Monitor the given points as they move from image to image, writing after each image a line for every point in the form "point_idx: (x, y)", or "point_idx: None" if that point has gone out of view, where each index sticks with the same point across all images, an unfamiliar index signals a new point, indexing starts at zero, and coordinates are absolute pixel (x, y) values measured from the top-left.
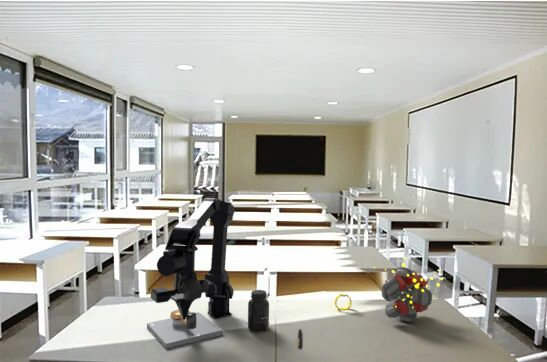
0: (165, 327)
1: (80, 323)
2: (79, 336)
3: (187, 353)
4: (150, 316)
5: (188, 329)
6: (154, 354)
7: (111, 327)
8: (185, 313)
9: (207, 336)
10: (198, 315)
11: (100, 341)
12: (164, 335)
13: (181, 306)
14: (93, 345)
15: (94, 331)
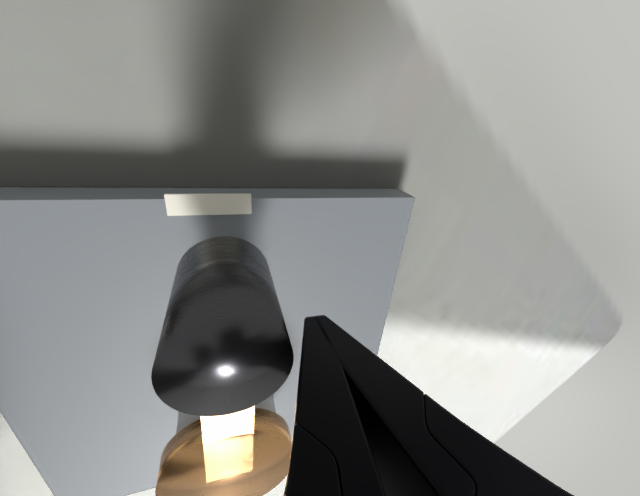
0: None
1: None
2: (510, 398)
3: (336, 33)
4: None
5: None
6: (466, 160)
7: None
8: (334, 360)
9: (91, 191)
10: (78, 478)
11: (502, 357)
12: (365, 300)
13: (491, 458)
14: (528, 338)
15: (472, 417)
